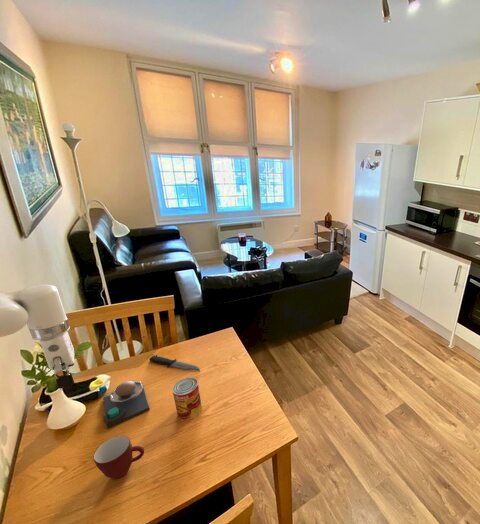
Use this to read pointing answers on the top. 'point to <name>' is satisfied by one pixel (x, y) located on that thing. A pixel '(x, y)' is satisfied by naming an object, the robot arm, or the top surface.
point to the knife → (172, 363)
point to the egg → (125, 388)
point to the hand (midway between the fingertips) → (67, 376)
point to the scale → (125, 409)
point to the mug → (116, 456)
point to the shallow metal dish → (129, 397)
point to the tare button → (113, 412)
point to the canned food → (187, 398)
